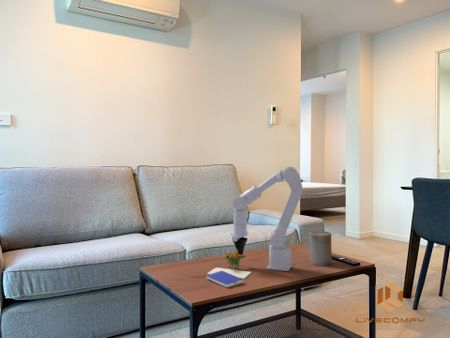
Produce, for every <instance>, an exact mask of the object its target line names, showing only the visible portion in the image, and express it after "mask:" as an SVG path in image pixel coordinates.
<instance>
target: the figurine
mask: <svg viewBox="0 0 450 338" xmlns="http://www.w3.org/2000/svg"><path fill="white" fill-rule="evenodd" d="M246 257H247V256H246V255H245V254H243V255H238V250H237V249H236V248H235V252H234V253H231V252H229V253H227V254H226V256H225V258H224V260H226V262H225V264H229V268H227V269H235V270H239V267H240V261H241V260H242V259H245V258H246Z"/></svg>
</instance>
